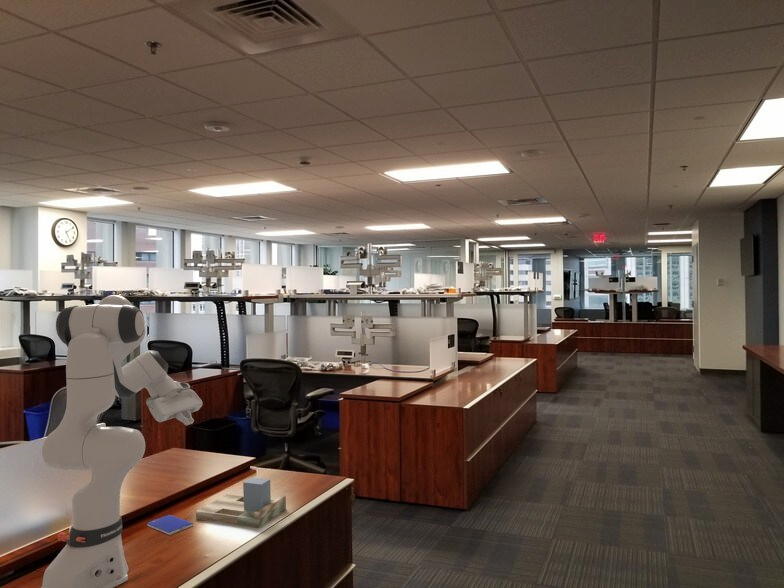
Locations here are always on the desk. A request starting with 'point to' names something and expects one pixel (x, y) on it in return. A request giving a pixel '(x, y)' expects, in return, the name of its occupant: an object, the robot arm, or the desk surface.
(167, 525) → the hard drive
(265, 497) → the slate block
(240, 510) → the box
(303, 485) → the desk surface
